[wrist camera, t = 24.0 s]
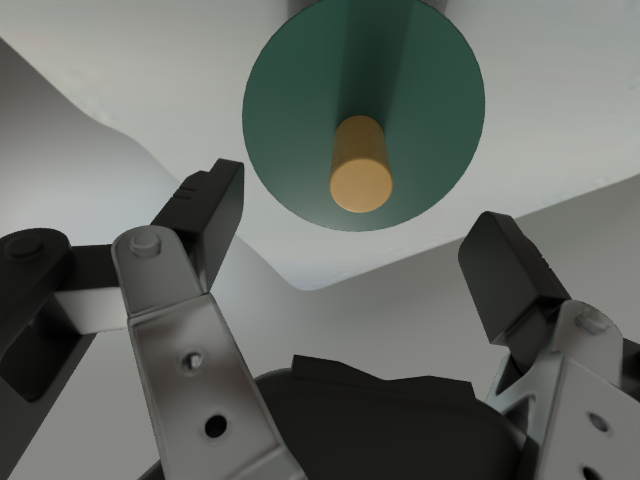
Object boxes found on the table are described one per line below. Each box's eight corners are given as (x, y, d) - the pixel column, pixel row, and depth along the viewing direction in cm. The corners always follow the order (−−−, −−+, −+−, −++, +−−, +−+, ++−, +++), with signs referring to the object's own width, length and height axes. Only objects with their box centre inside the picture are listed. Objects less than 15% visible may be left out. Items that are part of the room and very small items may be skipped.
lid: (200, 97, 16) (143, 143, 11) (417, -94, 11) (461, -141, 7) (327, 245, 21) (321, 314, 17) (506, 161, 17) (562, 227, 12)
